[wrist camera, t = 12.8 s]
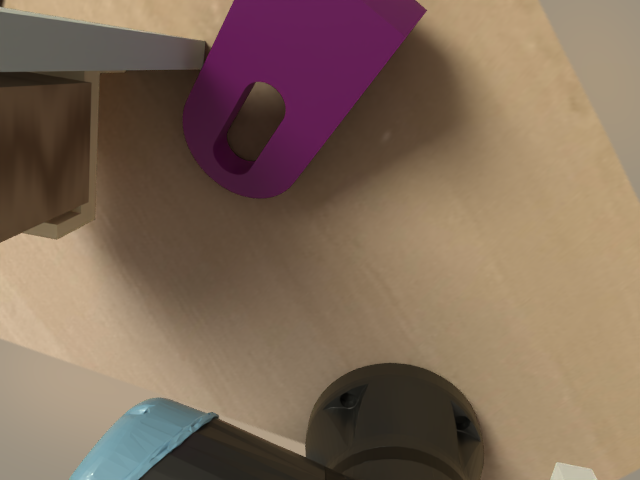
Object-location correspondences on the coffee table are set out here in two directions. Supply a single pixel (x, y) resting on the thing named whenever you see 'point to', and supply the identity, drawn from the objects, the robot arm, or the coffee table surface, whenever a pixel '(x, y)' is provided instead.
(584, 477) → the robot arm
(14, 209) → the cabinet
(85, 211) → the wall board
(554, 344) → the coffee table surface
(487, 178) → the coffee table surface
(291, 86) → the mounting bracket
